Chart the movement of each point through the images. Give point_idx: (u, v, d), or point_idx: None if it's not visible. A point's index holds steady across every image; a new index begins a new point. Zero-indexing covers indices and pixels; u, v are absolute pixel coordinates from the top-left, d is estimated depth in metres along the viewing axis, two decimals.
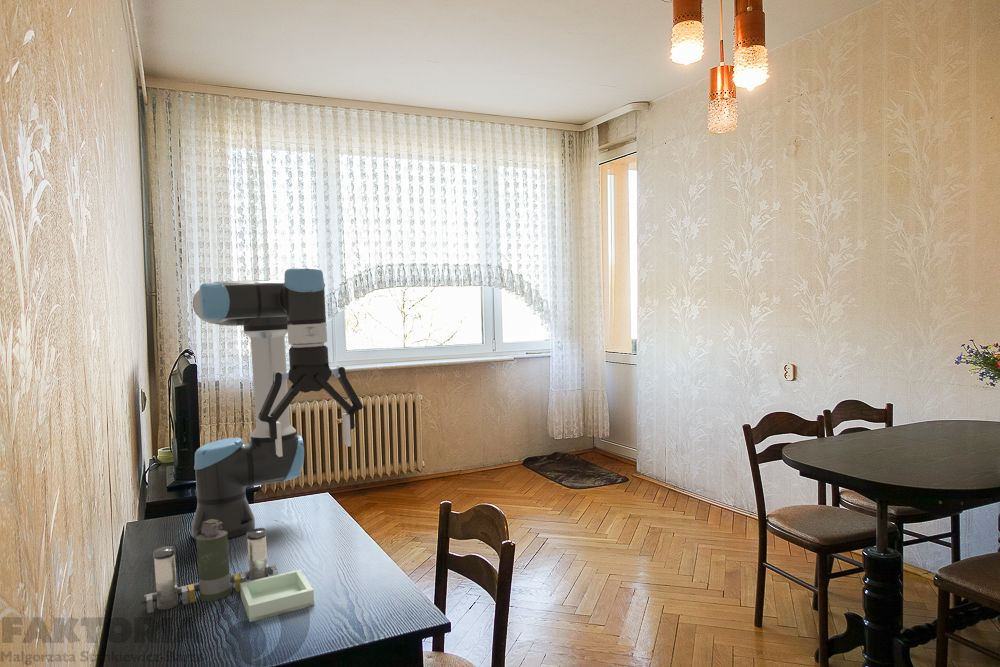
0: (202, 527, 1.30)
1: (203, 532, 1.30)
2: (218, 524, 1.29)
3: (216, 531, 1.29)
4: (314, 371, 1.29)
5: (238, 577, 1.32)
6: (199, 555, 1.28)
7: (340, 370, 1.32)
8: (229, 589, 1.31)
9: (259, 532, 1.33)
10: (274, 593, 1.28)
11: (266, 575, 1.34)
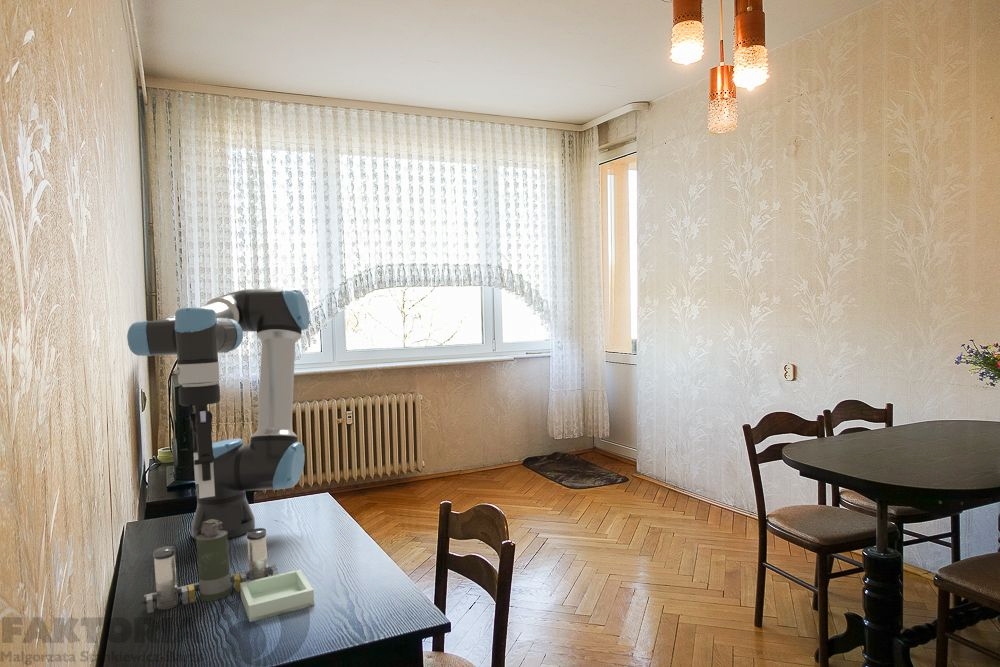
0: (202, 527, 1.30)
1: (203, 532, 1.30)
2: (218, 524, 1.29)
3: (216, 531, 1.29)
4: (194, 411, 1.29)
5: (238, 577, 1.32)
6: (199, 555, 1.28)
7: None
8: (229, 589, 1.31)
9: (259, 532, 1.33)
10: (274, 593, 1.28)
11: (266, 575, 1.34)
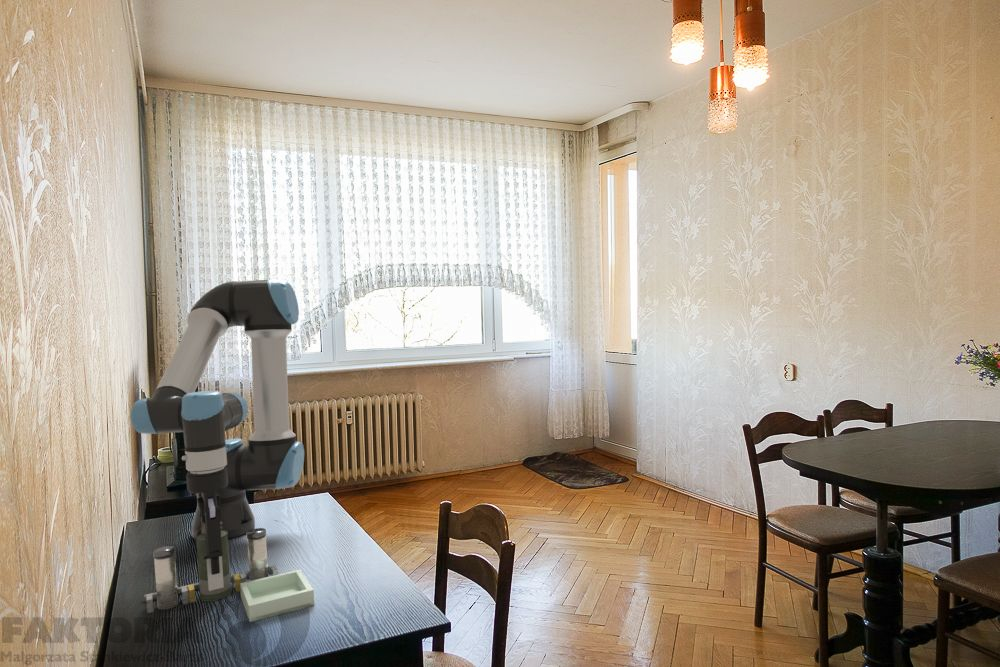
0: (202, 527, 1.30)
1: (203, 532, 1.30)
2: None
3: None
4: (202, 493, 1.28)
5: (238, 577, 1.32)
6: (199, 555, 1.28)
7: None
8: (229, 589, 1.31)
9: (259, 532, 1.33)
10: (274, 593, 1.28)
11: (266, 575, 1.34)
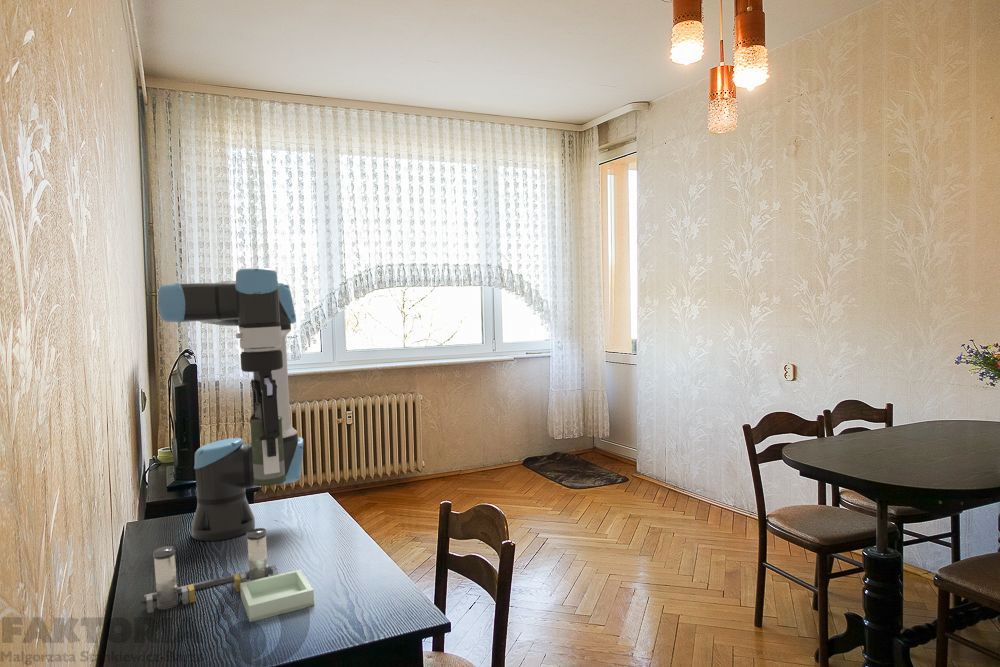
0: (256, 411, 1.24)
1: (257, 416, 1.24)
2: None
3: None
4: (257, 373, 1.22)
5: (238, 577, 1.32)
6: (254, 438, 1.22)
7: None
8: (284, 476, 1.25)
9: (259, 532, 1.33)
10: (274, 593, 1.28)
11: (266, 575, 1.34)
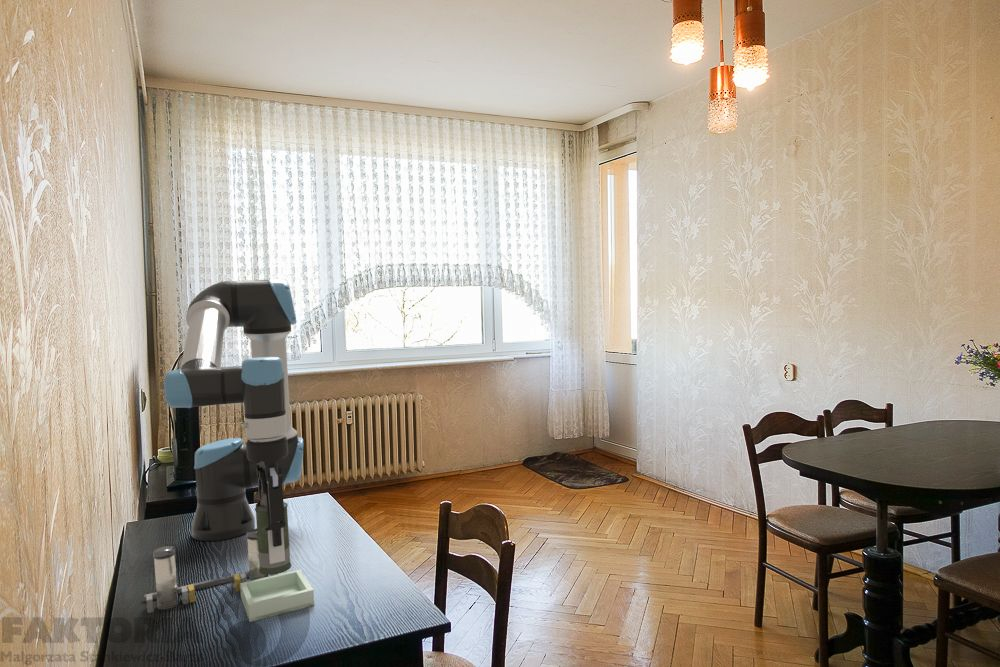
0: (261, 498, 1.24)
1: (262, 503, 1.24)
2: None
3: None
4: (263, 462, 1.23)
5: (238, 577, 1.32)
6: (259, 527, 1.23)
7: None
8: (289, 563, 1.25)
9: None
10: (274, 593, 1.28)
11: (266, 575, 1.34)
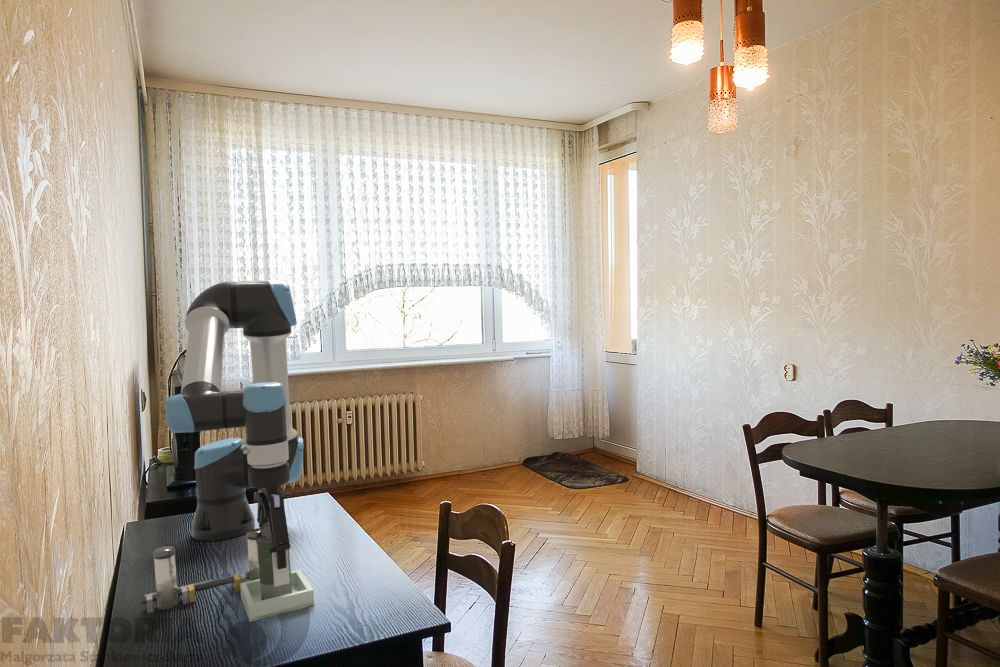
0: (262, 529, 1.25)
1: (264, 534, 1.25)
2: None
3: None
4: (264, 492, 1.24)
5: (238, 577, 1.32)
6: (261, 558, 1.23)
7: None
8: None
9: (259, 532, 1.33)
10: None
11: None
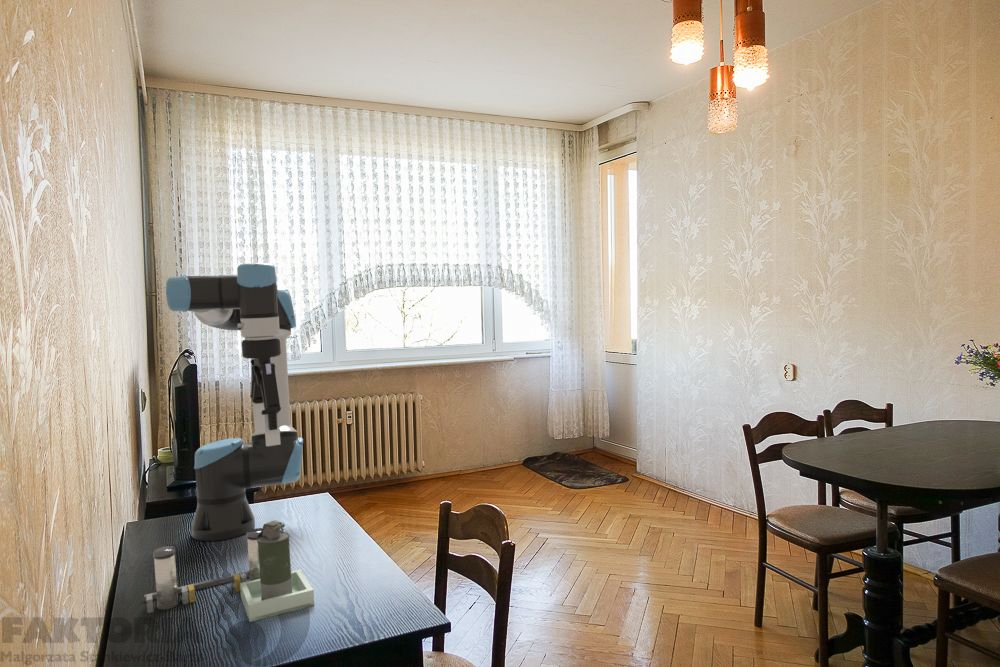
0: (263, 529, 1.25)
1: (264, 534, 1.25)
2: (281, 526, 1.24)
3: (278, 533, 1.24)
4: (257, 363, 1.34)
5: (238, 577, 1.32)
6: (261, 558, 1.23)
7: None
8: None
9: (259, 532, 1.33)
10: None
11: None
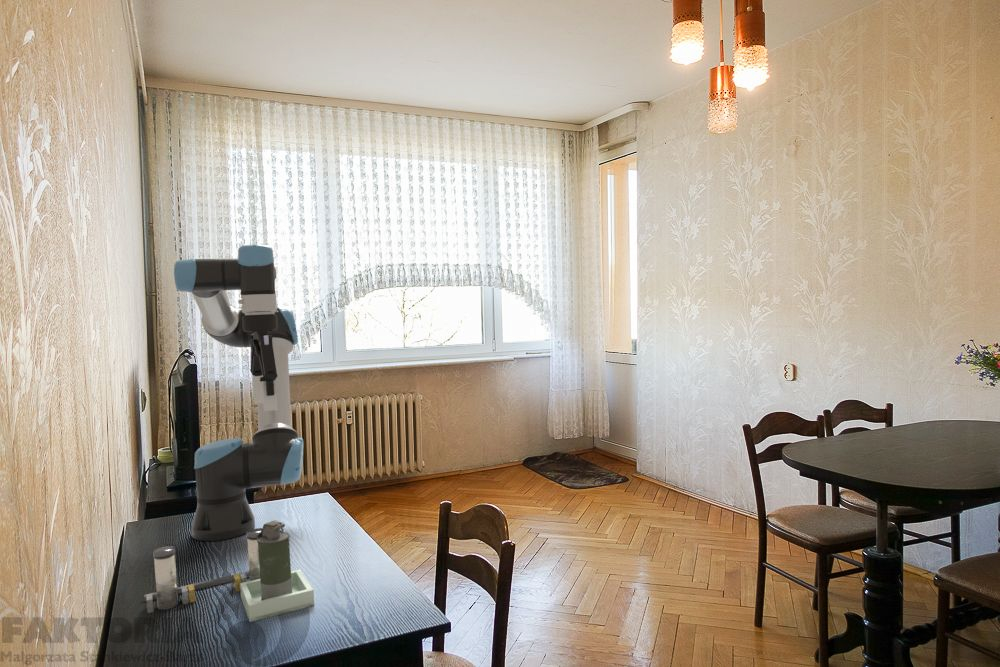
0: (263, 529, 1.25)
1: (264, 534, 1.25)
2: (281, 526, 1.24)
3: (278, 533, 1.24)
4: (256, 337, 1.46)
5: (238, 577, 1.32)
6: (261, 558, 1.23)
7: None
8: None
9: (259, 532, 1.33)
10: None
11: None
